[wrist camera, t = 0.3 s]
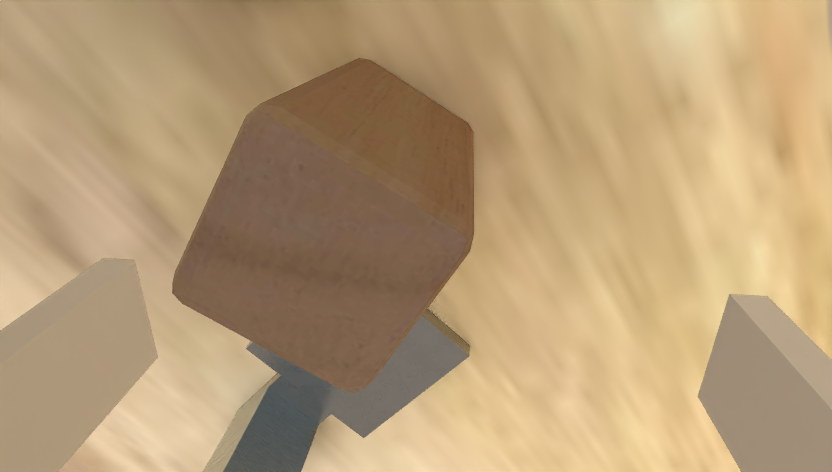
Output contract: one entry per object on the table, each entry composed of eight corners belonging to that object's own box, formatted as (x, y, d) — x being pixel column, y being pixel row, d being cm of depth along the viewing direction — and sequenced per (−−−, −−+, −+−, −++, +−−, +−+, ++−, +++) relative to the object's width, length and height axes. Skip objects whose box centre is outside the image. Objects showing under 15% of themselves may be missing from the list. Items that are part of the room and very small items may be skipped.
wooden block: (408, 232, 41) (358, 409, 23) (298, 166, 40) (154, 300, 22) (478, 127, 37) (484, 242, 19) (360, 50, 36) (246, 96, 18)
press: (206, 385, 50) (132, 490, 39) (348, 241, 42) (305, 323, 31) (316, 465, 53) (276, 584, 42) (469, 345, 45) (468, 453, 34)
